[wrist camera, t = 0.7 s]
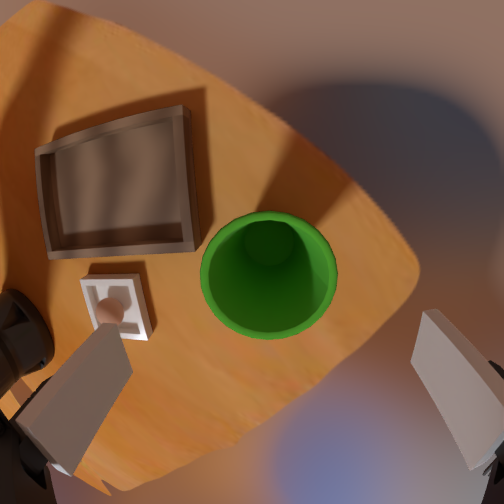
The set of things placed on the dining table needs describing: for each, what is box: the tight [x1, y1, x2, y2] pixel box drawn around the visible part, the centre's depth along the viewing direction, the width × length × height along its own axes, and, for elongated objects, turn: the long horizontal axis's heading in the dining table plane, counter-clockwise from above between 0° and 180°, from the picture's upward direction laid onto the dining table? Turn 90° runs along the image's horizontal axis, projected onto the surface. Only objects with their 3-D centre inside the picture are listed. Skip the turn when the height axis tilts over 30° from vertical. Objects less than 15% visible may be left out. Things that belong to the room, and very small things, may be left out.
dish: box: [80, 273, 153, 340], centre depth 31 cm, size 8×8×2 cm
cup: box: [200, 211, 338, 340], centre depth 23 cm, size 9×9×11 cm
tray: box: [35, 105, 202, 260], centre depth 26 cm, size 20×14×3 cm
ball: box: [96, 298, 124, 326], centre depth 29 cm, size 4×4×4 cm
